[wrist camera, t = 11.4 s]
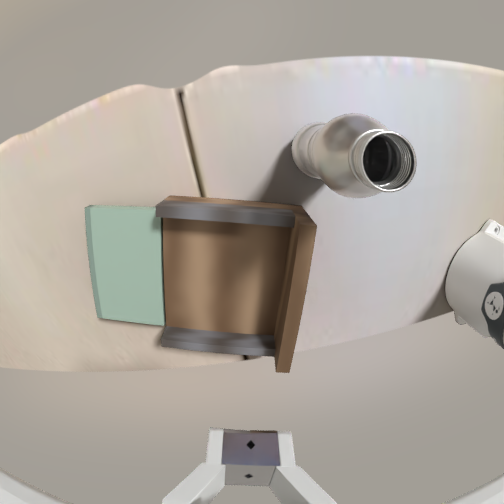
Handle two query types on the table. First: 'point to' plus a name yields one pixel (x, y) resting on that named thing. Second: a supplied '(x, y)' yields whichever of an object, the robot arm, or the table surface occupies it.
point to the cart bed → (235, 275)
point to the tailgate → (126, 263)
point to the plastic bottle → (355, 155)
